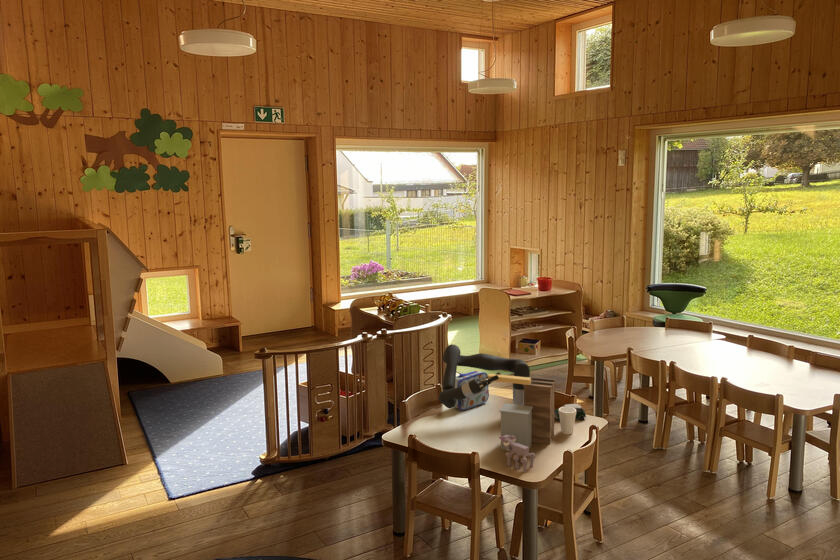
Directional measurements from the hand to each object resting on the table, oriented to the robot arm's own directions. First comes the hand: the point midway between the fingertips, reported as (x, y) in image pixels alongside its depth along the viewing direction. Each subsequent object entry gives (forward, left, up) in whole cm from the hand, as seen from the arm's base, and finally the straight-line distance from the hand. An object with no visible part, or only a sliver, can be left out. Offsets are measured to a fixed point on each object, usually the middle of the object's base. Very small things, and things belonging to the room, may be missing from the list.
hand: (498, 375), depth 337 cm
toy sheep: (+19, +13, -39) cm, 45 cm away
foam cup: (-28, +31, -39) cm, 57 cm away
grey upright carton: (0, +9, -39) cm, 40 cm away
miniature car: (-48, +29, -39) cm, 69 cm away
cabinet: (-15, +18, -39) cm, 45 cm away
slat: (0, +6, -3) cm, 6 cm away
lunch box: (-48, -32, -39) cm, 69 cm away
